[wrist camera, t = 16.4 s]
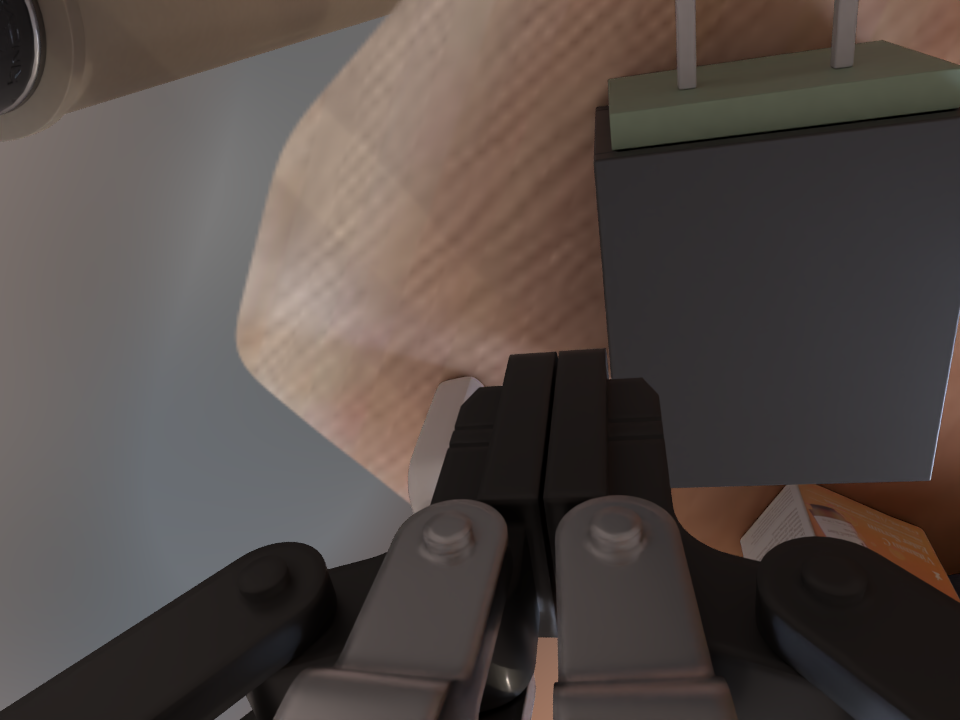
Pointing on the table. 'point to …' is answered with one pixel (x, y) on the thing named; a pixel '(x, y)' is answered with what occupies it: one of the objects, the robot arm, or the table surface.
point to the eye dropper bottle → (436, 438)
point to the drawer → (776, 89)
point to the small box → (844, 531)
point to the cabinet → (788, 296)
